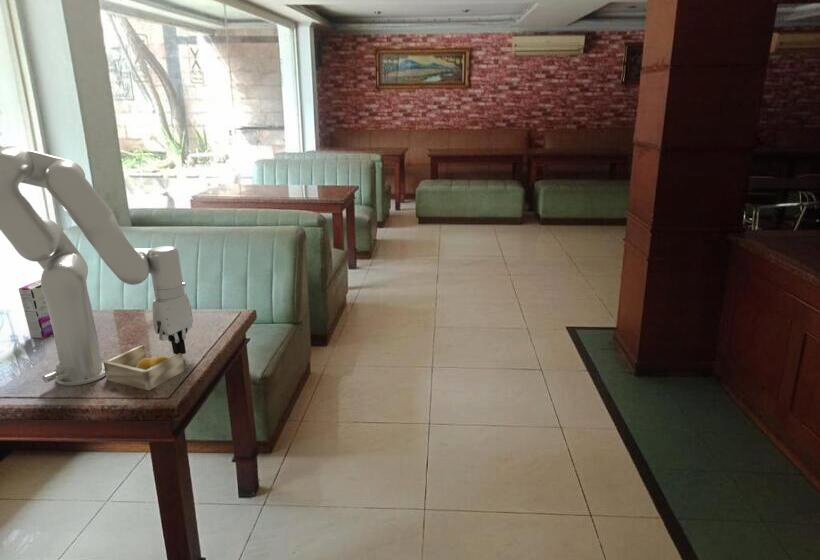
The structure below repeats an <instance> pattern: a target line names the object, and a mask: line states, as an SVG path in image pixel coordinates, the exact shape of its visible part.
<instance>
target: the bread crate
mask: <svg viewBox="0 0 820 560" xmlns="http://www.w3.org/2000/svg"><path fill="white" fill-rule="evenodd" d="M143 358H147V356H146V350H145V345H143V344H140V345H138V346H136V347H134V348H131V349H130V350H129V349H128V350H127V351H124V352H123V353H121V354H119V355H116V356H114V357H112V358H110V359H108V360H105V361H102V362H103V363H104V368H105V374H106V375H105V378H106V381H110V382H113V383H117V384H121V385H126V386H130V387H134V388H137V389H140V390H141V389H142V390H146V391H150V390H152V389H154V388H156V387H158V386H160V385H162V384H163V383H165V382H167V381H168V380H171V379H172V378H174V377H175V376H178V375H181V374H182V373H183V372H185V370H186V369H185V364H184V357H183V355H182V353H178V354H174V355H173V356H171V357H169V359H167V360H165V361H163V362H161V363H159V364H157V365H155V366H153V367H151V368H149V369H147V370H144V369H140V368H136V366H137V364H138V362H139V361H140V360H141V359H143Z"/></svg>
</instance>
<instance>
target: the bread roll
mask: <svg viewBox="0 0 820 560" xmlns="http://www.w3.org/2000/svg"><path fill="white" fill-rule="evenodd" d="M169 358H170V357H169ZM169 358H168V357H167V356H158V357H157V356H156V357H155V358H152V357H146V358H143V359H141V360H140V361H139V362H138V364H137V366H136V368H140V369H144V370H147V369H149V368H151V367H153V366H155V365H157V364H159V363H161V362H163V361H165V360H167V359H169Z"/></svg>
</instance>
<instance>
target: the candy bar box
mask: <svg viewBox="0 0 820 560" xmlns="http://www.w3.org/2000/svg"><path fill="white" fill-rule="evenodd" d="M18 292H19V295H20V299H21V304H22V308H23V312H24V315H25V319H26V324H27V327H28V332H29V336H30V338H31V339H46V338H47V337H50V336H51V335H54V334H53V329H52V325H51V321H50V317H49V312H48V308H47V304H46V301H45V298H44V295H43V292H42V287H41V279H39V280H37V281H34V282H31V283H30V284H27V285H24V286H21V287H20V288H18Z"/></svg>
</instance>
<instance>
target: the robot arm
mask: <svg viewBox="0 0 820 560" xmlns="http://www.w3.org/2000/svg"><path fill="white" fill-rule="evenodd" d="M20 184H26V185H30V186H35V187H39V188H43V189H46V191H48V193H49V194H50V195H51V196H52V197H53V198H54V199H55V201H56V202H57V203H58V205H60V207H61V208H62V209H63V210H64V211H65V212H66V213H67V215H68V216H69V217H70V218H71V220H72V221H73V222H74V223H75V224H76V226H77V227H78V228H79V229H80V230H81V231H80V232H82V233H83V235H84V237H85V238H86V239H87V241H88V242H89V243H90V245H91V246H92V247H93V249H94V250H95V251H96V253H97V254H98V256H99V257H100V258H101V260H102V261H103V262H104V264H105V265H106V266H107V267H108V268H109V269H110V271H111V272H112V273H113V275H115V277H117V278H118V279H119V280H120V281H121V282H122V283H124V284H127V285H132V286H133V285H139V284H141V283H143V282H144V281H145V280H147V278H148V276H149V274H150V275H151V280H152V286H153V291H154V297H155V298H154V299H153V300H152V321H153V329H154V333H155V334H157V335H159V337H158V339H159V341H162V342H163V341H164V342H165V341H168V342H171V343H170V344H171V346H172V347H171V349H172V353H173V354H174V355H176V354H178V353H182V356H183V355H185V354H187V352H186V351H187V350H186V344H185V340H186V339H187V333H188V331H189V330H191V328H193V324H194V317H193V311H192V307H191V303H190V300H189V297H188V295H187V292H185V288H186V283H185V282H184V279H183V273H182V267H181V261H180V260H181V259H180V256H179V255H180V254H179V251H178V249H177V248H176V247H175V246H172V245H162V246H156V247H152V248H142V247H141V248H140V247H138V248H137V247H133V245H132V244H131V243H130V241H129V240H128V239H127V238H126V235H125V234H124V232H123V231H122V228H121V227H120V225H119V223H118V220H117V218H116V215H115V214H114V212H113V210H112V209H111V208H110V207H109V206H108V204H107V203H106V202H105V201H104V199H103V198H102V197H101V195H99V193H98V192H97V191H96V190H95V188H94V187H93V186H92V184H91V183H90V182H89V181H88V179H87V178H86V174H85V171H84V169H83V168H82V167H81V165H79V163H77V162H75V161H73V160H70V159H66V158H63V157H62V158H61V157H58V156H54V155H50V154H47V153H42V152H40V151H39V152H38V151H36V150H35V151H34V150H30V149H27V148H23V147H19V146H4V147H0V231H1V233H3V234H2V235H4V236H5V238H6V239H7V240H8V241H9V242H10V244H11V245H12V247H13V248H14V250H15V251H16V252H17V253H18V254H19V256H21V257H22V258H23V259H25V260H27V261H31V262H37V263H38V265H39V266H40V267H41V268H42V269H43V271H42V274H41V278H40V280H41V287H42V292H43V295H44V298H45V301H46V304H47V308H48V312H49V317H50V321H51V325H52V329H53V334H52V335H53V338H54V342H55V346H56V347H55V348H56V351H57V357H58V362H59V363H58V364H56V365H55V368H56V369H54V370H53V372H49V373H46V374H45V375H43V376H42V380H43V382H44V383H50V382H52V381H55V382H56V383H58V384H59V385H61V386H81V385H85V384H90V383H93V382H96V381H98V380H100V379H103V378H104V377H106V374H105V368H104V363H103V362H104V361H103V360H102V354H101V349H100V344H99V339H98V334H97V329H96V324H95V319H94V317H95V316H94V313H93V309H92V307H93V306H92V304H91V299H90V294H89V291H88V286H87V285H88V283H87V279H88V274H89V266H88V263H87V261H86V259H85V258H84V256H83V255H82V254H81V253H80V251H79V250H78V249H77V247H76V246H75V245H74V244H73V242H72V241H71V240H70V238H69V236H68V235H67V234H66V233H65V232H64V230H63V229H62V228H61V226H59V224H57V223H56V222H55V221H53V220H52V219H50V218H47V217H42V216H40V215H39V214H38V213H37V211H36V210H35V209H34V207H33V206H32V205H31V203H30V202H29V201H28V199H27V198H26V197H25V196H24V195H23V194H22V193H21V191H20V189H19V186H20Z"/></svg>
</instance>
